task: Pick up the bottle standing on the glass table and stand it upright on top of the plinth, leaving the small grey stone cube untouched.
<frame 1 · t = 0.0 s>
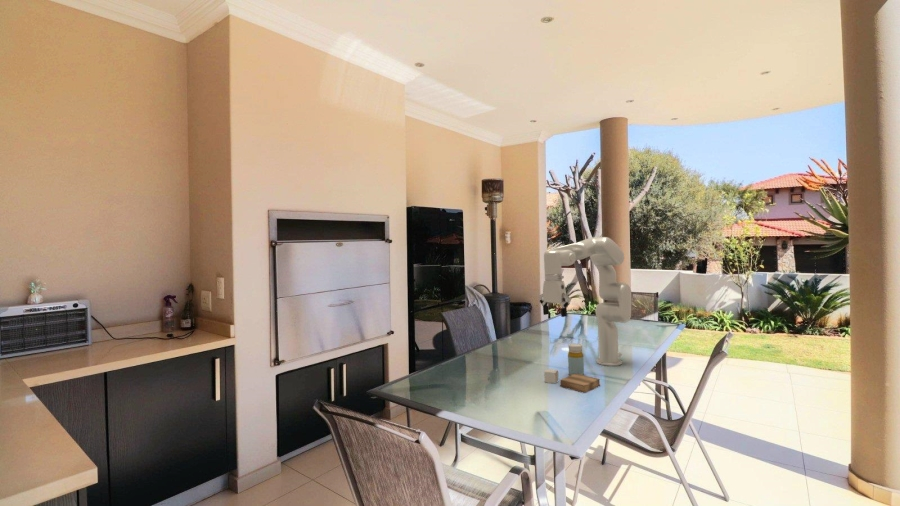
hand: (554, 315, 187), 31 cm above the table, tool pointing down, fingers open, 9 cm apart
stone cube: (551, 381, 191), on the table
plinth: (580, 386, 183), on the table
bottle: (576, 376, 197), on the table
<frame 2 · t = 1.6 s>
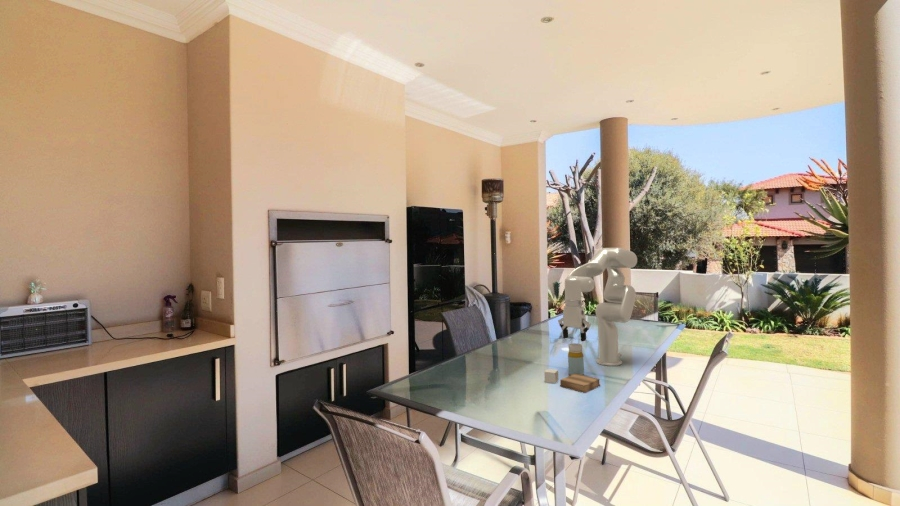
hand: (574, 339, 196), 18 cm above the table, tool pointing down, fingers open, 9 cm apart
nothing on the table moved.
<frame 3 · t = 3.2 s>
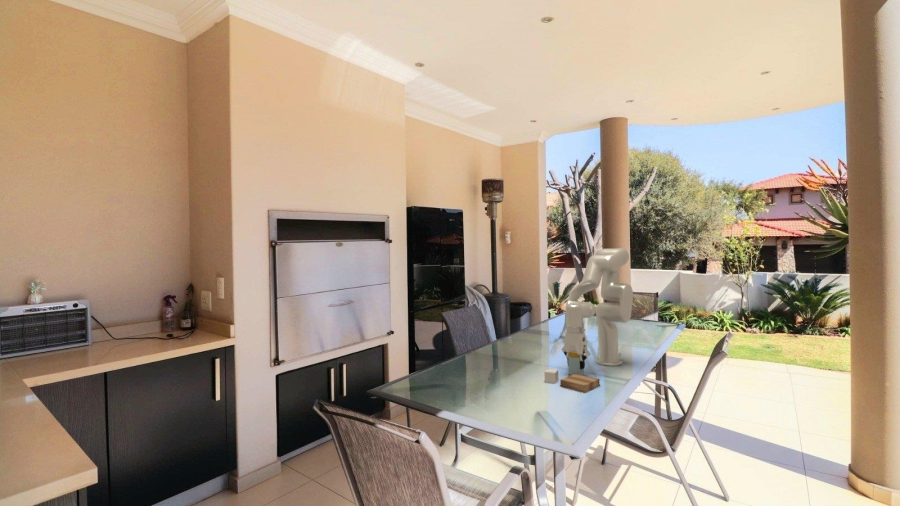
hand: (576, 367, 197), 4 cm above the table, tool pointing down, fingers closed on bottle, 5 cm apart
bottle: (576, 376, 197), on the table, touching gripper
everything else where it was.
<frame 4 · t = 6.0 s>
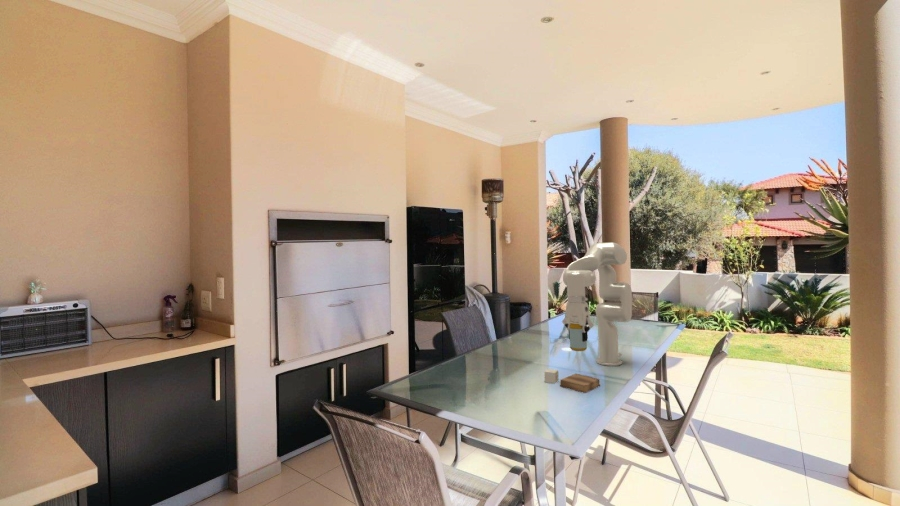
hand: (578, 339, 182), 21 cm above the table, tool pointing down, fingers closed on bottle, 5 cm apart
bottle: (578, 349, 182), point 16 cm above the table, touching gripper
everything else where it was.
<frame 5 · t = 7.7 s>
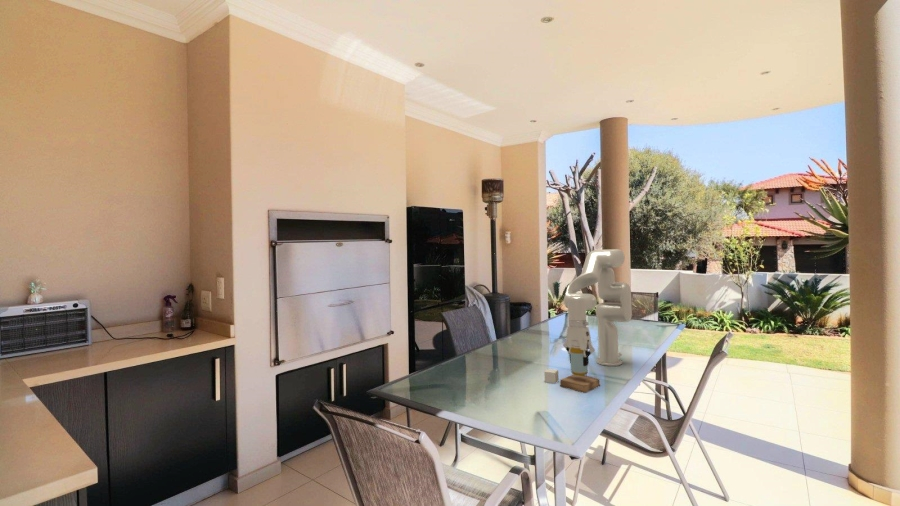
hand: (579, 363, 183), 10 cm above the table, tool pointing down, fingers closed on bottle, 5 cm apart
bottle: (579, 373, 183), point 5 cm above the table, touching gripper
everything else where it was.
when the fingers open (8 cm above the table, at t = 9.0 s): bottle stays where it is, resting on plinth.
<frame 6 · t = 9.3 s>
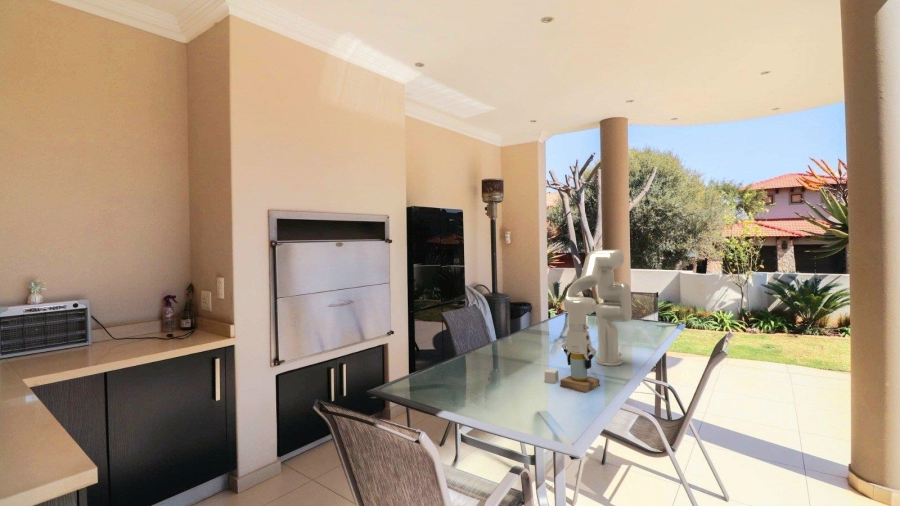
hand: (579, 366, 183), 9 cm above the table, tool pointing down, fingers open, 8 cm apart
bottle: (579, 379, 183), point 3 cm above the table, touching plinth
everything else where it was.
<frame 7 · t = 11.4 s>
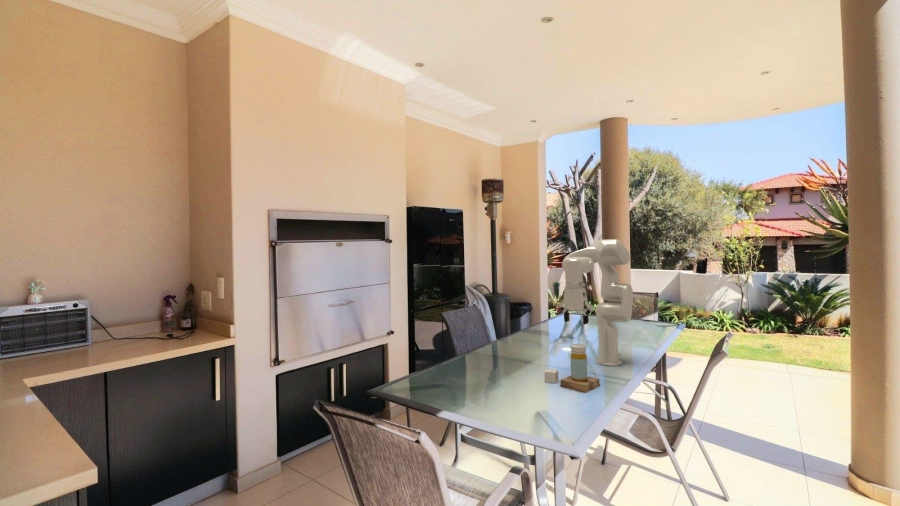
hand: (576, 322, 188), 27 cm above the table, tool pointing down, fingers open, 9 cm apart
nothing on the table moved.
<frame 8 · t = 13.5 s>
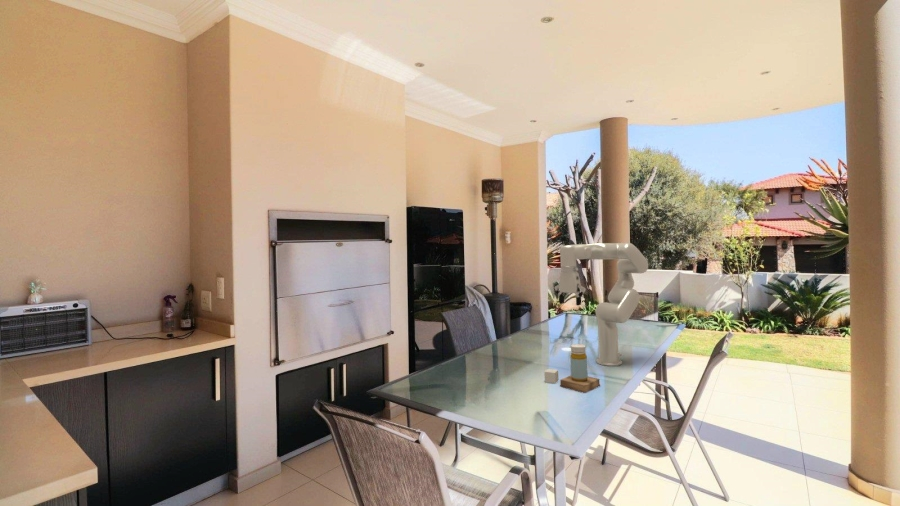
hand: (570, 304, 205), 33 cm above the table, tool pointing down, fingers open, 9 cm apart
nothing on the table moved.
at the end: bottle inside the target area on the plinth (0.2 cm from its centre), point 2.8 cm above the plinth's base; bottle tilted 0°; the gripper is holding nothing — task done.
